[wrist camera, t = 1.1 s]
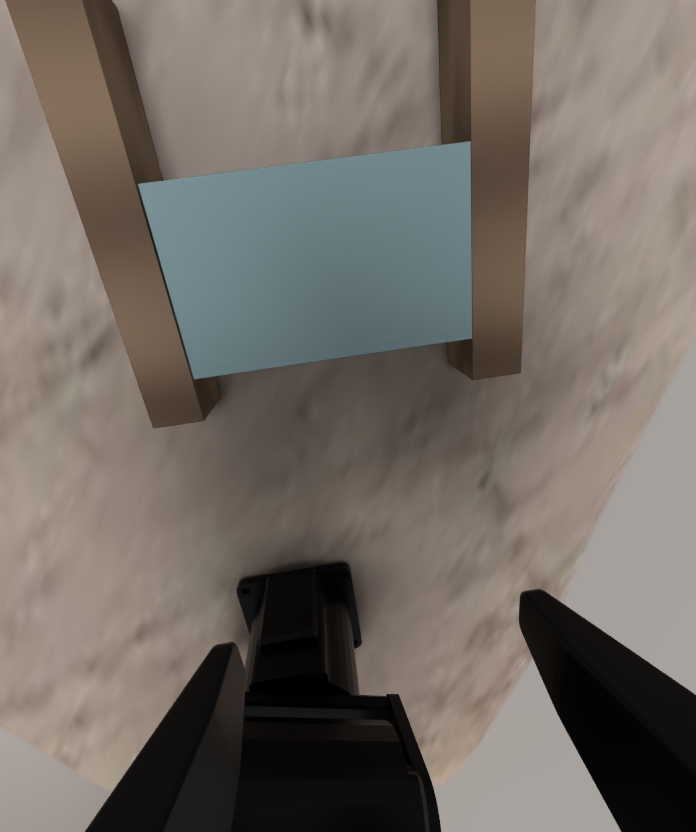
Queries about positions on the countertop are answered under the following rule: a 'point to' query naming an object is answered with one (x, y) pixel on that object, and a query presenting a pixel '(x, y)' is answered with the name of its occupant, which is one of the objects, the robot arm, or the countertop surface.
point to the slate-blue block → (317, 257)
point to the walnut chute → (137, 163)
